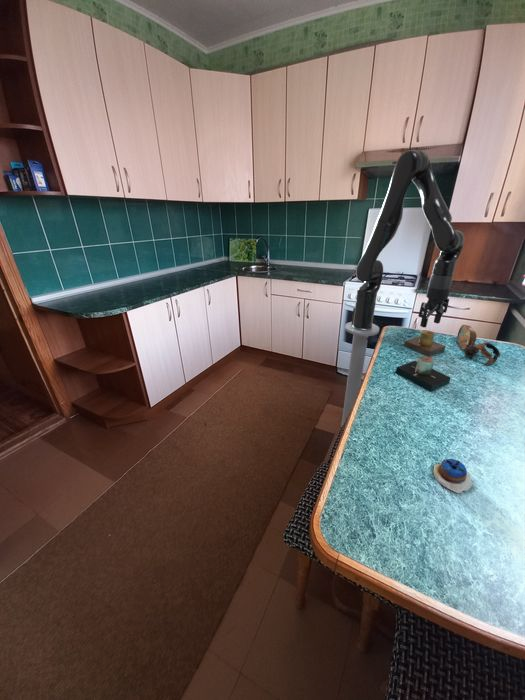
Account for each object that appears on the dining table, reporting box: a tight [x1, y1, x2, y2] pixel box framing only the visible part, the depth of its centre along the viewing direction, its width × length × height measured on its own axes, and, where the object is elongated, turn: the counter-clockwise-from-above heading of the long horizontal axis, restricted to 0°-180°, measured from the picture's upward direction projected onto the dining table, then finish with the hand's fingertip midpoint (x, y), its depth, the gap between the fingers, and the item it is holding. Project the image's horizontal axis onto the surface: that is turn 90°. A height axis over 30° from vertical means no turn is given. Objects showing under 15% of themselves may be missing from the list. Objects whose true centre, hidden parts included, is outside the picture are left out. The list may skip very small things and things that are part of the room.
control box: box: [395, 360, 452, 392], centre depth 103 cm, size 14×10×3 cm
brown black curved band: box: [463, 341, 501, 366], centre depth 114 cm, size 12×10×8 cm
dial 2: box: [415, 355, 435, 376], centre depth 102 cm, size 5×5×5 cm
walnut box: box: [403, 335, 446, 357], centre depth 124 cm, size 12×10×3 cm
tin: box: [456, 324, 477, 351], centre depth 124 cm, size 15×3×8 cm, turn 161°
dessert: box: [433, 458, 473, 494], centre depth 66 cm, size 8×7×6 cm
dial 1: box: [419, 329, 435, 346], centre depth 123 cm, size 5×5×5 cm
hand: (429, 324), depth 120 cm, fingers open, 8 cm apart
